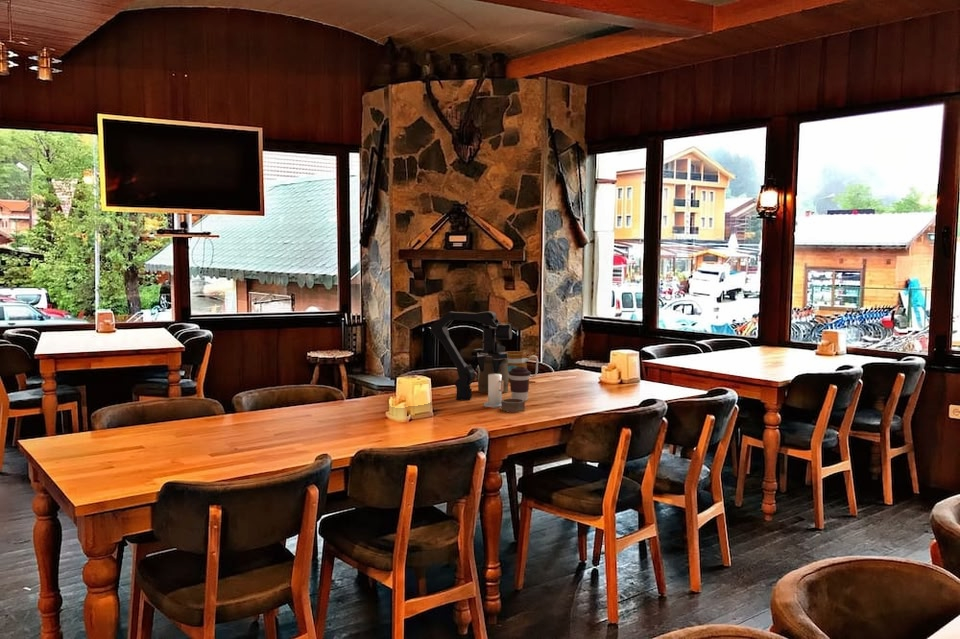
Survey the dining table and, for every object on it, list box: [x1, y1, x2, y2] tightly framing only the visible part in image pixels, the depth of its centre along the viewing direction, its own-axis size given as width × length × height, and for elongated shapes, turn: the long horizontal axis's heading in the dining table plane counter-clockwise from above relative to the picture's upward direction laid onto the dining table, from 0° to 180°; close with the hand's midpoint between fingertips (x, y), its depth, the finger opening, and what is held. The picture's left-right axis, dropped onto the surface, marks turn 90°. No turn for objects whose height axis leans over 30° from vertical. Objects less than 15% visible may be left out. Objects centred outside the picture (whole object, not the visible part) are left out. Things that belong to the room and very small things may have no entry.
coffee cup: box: [509, 367, 531, 401], centre depth 352 cm, size 10×10×15 cm
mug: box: [505, 350, 539, 383], centre depth 406 cm, size 20×14×15 cm
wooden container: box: [477, 353, 509, 394], centre depth 375 cm, size 15×15×22 cm
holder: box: [500, 397, 526, 413], centre depth 331 cm, size 10×10×4 cm
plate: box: [483, 401, 501, 409], centre depth 339 cm, size 10×10×1 cm
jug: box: [487, 374, 504, 405], centre depth 338 cm, size 8×6×13 cm
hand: (489, 372), depth 351 cm, fingers open, 9 cm apart
